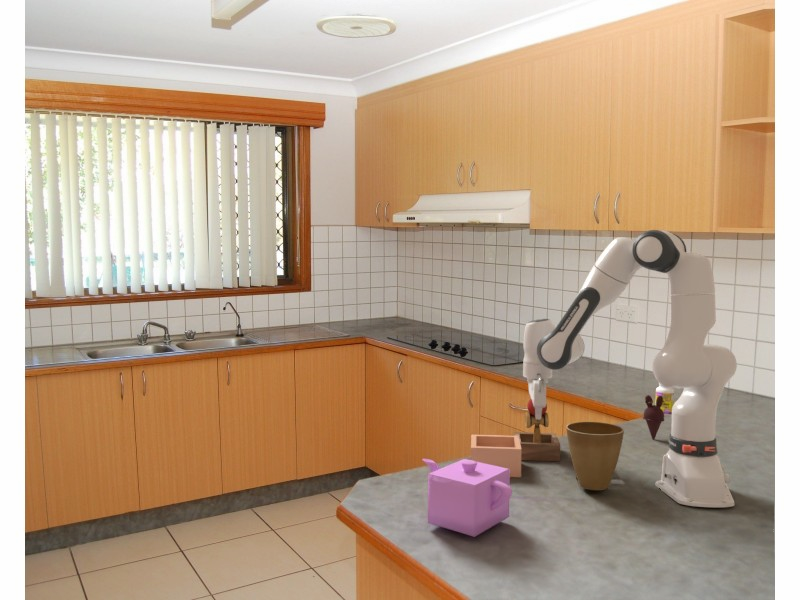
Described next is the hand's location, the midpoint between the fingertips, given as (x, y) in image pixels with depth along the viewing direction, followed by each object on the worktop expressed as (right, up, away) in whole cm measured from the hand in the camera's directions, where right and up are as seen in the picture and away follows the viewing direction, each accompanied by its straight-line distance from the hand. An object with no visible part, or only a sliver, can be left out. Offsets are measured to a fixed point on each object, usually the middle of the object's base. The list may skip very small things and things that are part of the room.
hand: (537, 415), depth 220 cm
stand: (-15, -13, -13) cm, 24 cm away
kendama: (0, -12, +1) cm, 12 cm away
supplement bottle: (+59, -8, +54) cm, 80 cm away
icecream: (+42, -11, +17) cm, 47 cm away
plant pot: (+10, -15, -28) cm, 33 cm away
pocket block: (0, -12, +1) cm, 12 cm away
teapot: (-27, -16, -51) cm, 60 cm away
